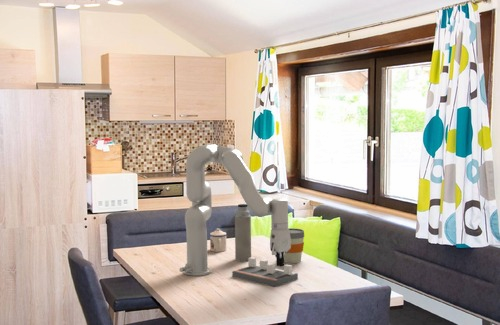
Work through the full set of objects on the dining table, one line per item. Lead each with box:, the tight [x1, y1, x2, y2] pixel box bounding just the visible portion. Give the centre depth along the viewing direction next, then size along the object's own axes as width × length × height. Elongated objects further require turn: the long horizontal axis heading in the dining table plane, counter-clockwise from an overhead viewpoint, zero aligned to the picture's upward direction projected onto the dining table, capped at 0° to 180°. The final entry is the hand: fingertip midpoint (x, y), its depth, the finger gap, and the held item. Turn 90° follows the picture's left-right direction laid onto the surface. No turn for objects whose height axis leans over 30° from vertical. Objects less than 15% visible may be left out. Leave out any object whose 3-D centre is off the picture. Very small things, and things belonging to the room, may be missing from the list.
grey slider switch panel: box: [231, 256, 299, 288], centre depth 285 cm, size 16×25×7 cm, turn 49°
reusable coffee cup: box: [284, 227, 305, 264], centre depth 316 cm, size 12×13×15 cm
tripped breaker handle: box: [267, 263, 276, 274], centre depth 282 cm, size 2×3×4 cm, turn 49°
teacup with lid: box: [209, 228, 228, 253], centre depth 338 cm, size 12×9×12 cm
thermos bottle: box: [234, 203, 252, 262], centre depth 318 cm, size 8×8×28 cm
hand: (280, 265), depth 287 cm, fingers closed
